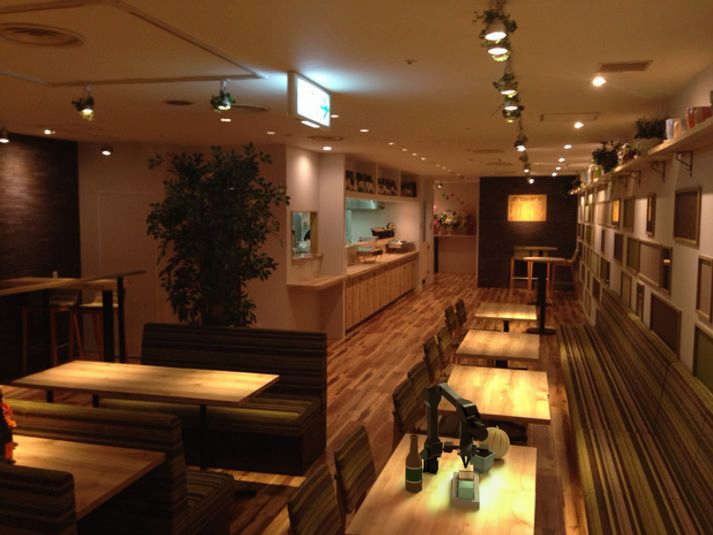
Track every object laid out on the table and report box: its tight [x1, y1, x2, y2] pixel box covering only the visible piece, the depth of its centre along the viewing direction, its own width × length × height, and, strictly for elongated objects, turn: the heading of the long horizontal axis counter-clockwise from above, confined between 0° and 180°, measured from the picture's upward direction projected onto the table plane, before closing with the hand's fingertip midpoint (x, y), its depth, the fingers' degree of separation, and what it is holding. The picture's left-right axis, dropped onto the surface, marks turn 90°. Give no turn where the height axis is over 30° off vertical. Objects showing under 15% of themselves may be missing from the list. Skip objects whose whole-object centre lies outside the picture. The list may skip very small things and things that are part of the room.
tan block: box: [458, 470, 474, 482], centre depth 266 cm, size 6×6×5 cm
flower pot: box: [469, 451, 495, 475], centre depth 287 cm, size 9×9×9 cm
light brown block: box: [458, 463, 474, 473], centre depth 274 cm, size 6×6×5 cm
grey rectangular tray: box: [451, 471, 481, 510], centre depth 267 cm, size 11×26×3 cm, turn 170°
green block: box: [457, 480, 474, 500], centre depth 258 cm, size 6×6×5 cm
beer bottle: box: [404, 433, 424, 494], centre depth 269 cm, size 8×8×24 cm
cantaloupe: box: [477, 425, 511, 460], centre depth 301 cm, size 15×15×15 cm
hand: (465, 467), depth 265 cm, fingers closed
